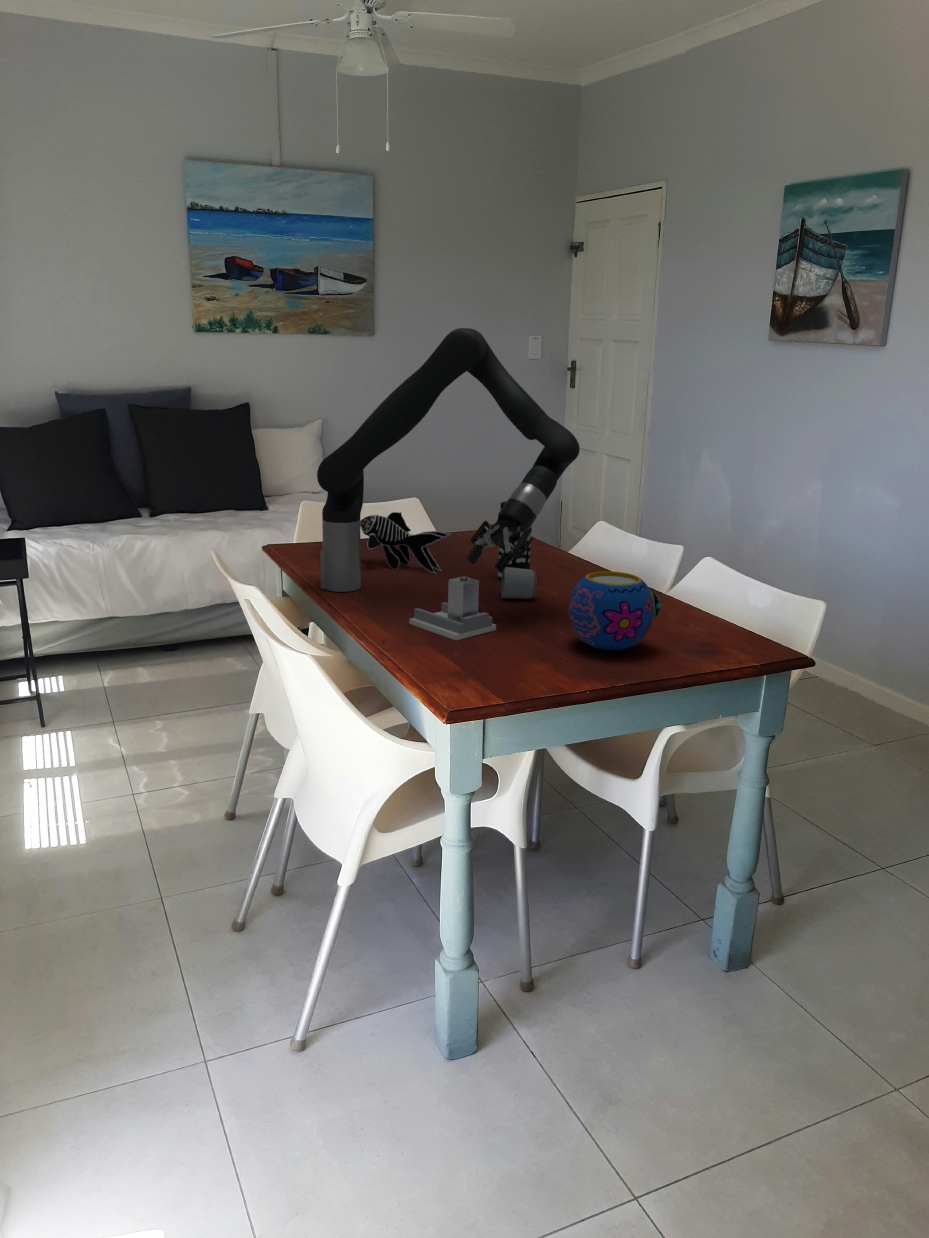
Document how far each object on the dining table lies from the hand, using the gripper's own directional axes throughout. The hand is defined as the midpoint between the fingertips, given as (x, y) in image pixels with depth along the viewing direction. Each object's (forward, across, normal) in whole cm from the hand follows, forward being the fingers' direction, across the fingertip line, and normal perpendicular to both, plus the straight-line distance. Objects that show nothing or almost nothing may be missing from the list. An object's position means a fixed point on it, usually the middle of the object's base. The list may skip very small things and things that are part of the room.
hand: (483, 565), depth 211 cm
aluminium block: (+13, 0, +5) cm, 14 cm away
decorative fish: (-5, -51, +24) cm, 57 cm away
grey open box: (+14, -3, +5) cm, 15 cm away
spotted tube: (-16, -24, +35) cm, 45 cm away
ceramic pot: (+2, +27, +17) cm, 32 cm away
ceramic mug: (-7, -12, +27) cm, 30 cm away
